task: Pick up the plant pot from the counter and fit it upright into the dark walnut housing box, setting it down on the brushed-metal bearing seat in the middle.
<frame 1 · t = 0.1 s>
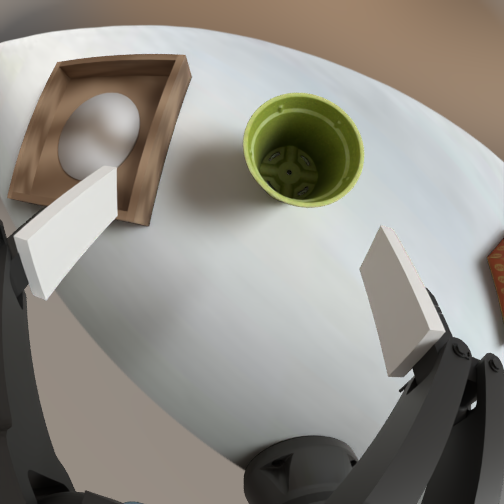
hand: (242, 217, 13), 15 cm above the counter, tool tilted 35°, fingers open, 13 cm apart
housing: (100, 137, 28), on the counter
plant pot: (288, 175, 29), on the counter
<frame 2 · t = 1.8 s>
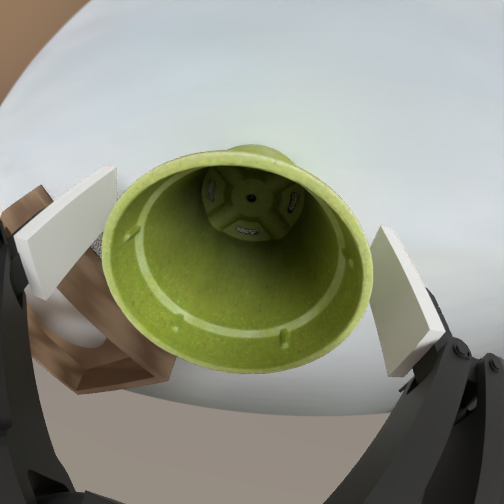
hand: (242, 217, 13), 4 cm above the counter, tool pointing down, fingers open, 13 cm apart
housing: (66, 302, 24), on the counter
plant pot: (254, 193, 17), on the counter
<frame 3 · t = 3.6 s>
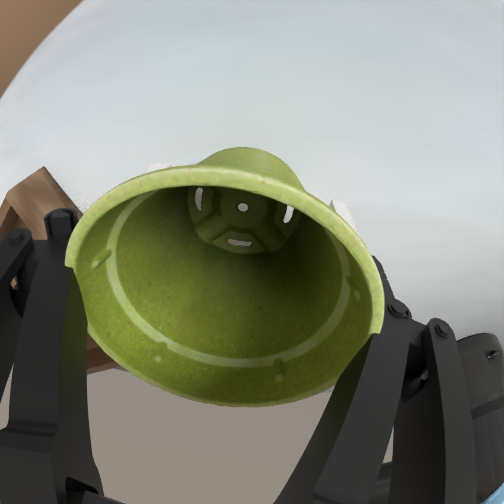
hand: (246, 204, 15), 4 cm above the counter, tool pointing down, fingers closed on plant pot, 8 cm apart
housing: (66, 282, 25), on the counter
plant pot: (246, 201, 15), point 3 cm above the counter, touching gripper
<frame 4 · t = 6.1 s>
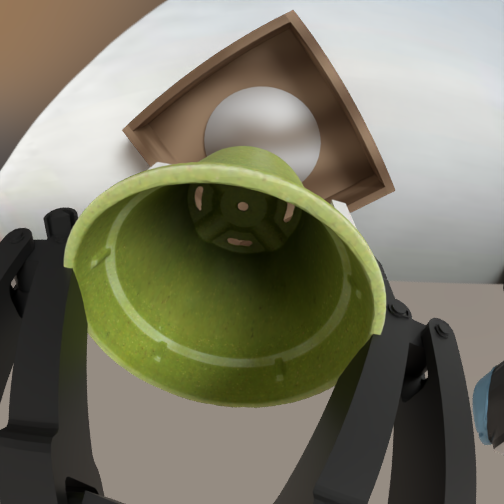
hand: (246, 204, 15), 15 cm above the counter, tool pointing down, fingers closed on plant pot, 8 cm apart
housing: (262, 140, 27), on the counter
plant pot: (246, 200, 15), point 15 cm above the counter, touching gripper
when the fingers open (2 cm above the counter, at t = 8.9 s): plant pot moves 4 cm, point 2 cm above the counter.
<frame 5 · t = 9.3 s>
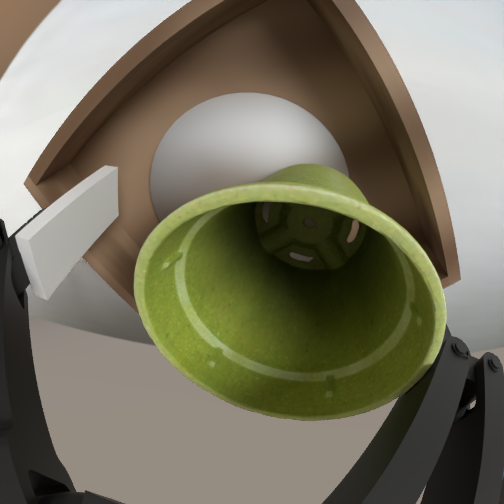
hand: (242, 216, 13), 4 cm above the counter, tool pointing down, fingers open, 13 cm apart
housing: (249, 187, 16), on the counter
plant pot: (312, 217, 15), point 2 cm above the counter, touching gripper
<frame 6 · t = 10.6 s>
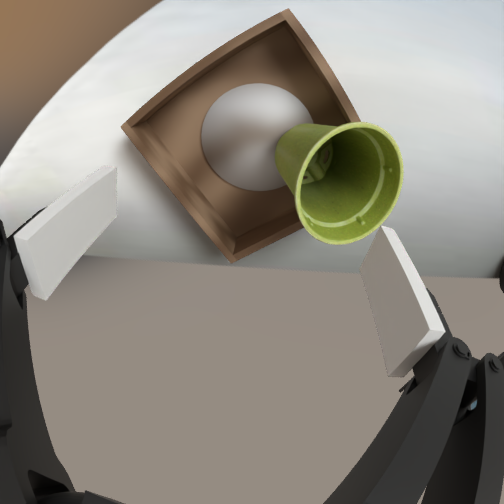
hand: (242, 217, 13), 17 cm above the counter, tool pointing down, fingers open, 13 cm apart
housing: (258, 136, 27), on the counter
plant pot: (304, 153, 26), point 2 cm above the counter, touching housing
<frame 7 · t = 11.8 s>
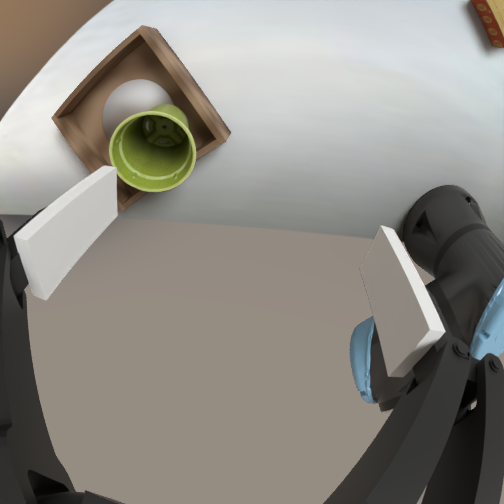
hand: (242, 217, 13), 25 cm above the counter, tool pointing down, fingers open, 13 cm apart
housing: (140, 117, 34), on the counter
plant pot: (166, 125, 33), point 1 cm above the counter, touching housing
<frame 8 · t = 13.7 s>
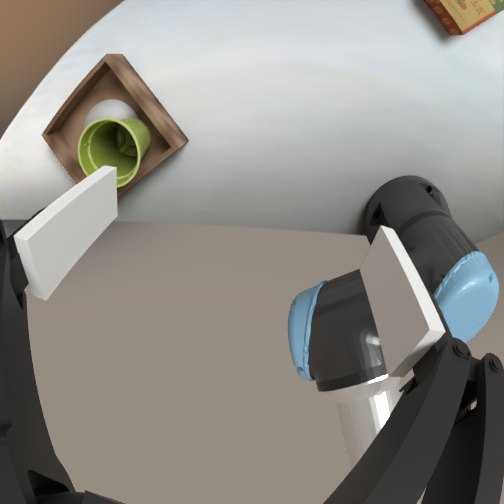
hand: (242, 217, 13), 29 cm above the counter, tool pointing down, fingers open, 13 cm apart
housing: (114, 131, 39), on the counter
plant pot: (134, 136, 38), point 1 cm above the counter, touching housing
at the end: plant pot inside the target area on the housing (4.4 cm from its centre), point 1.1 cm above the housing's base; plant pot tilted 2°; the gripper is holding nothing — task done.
